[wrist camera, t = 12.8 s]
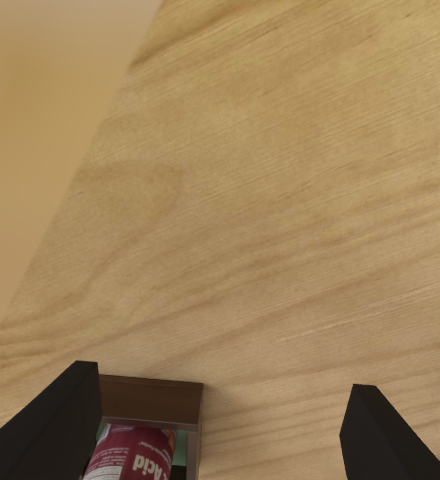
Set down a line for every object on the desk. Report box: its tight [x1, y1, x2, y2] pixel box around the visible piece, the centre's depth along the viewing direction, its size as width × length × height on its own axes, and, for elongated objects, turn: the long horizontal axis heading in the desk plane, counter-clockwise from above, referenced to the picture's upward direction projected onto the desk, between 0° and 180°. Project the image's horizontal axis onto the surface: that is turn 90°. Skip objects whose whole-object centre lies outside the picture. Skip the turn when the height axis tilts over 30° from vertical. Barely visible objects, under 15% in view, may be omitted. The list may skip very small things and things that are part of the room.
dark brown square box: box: [79, 375, 203, 480], centre depth 23 cm, size 8×8×3 cm
